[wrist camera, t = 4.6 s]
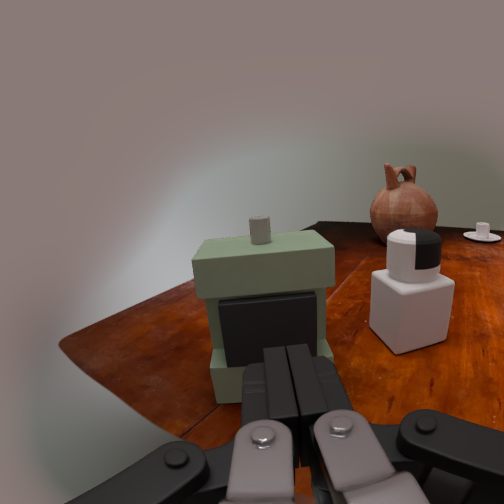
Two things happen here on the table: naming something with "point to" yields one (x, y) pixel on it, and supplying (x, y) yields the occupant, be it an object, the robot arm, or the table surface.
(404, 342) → the medicine bottle
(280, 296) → the paddle
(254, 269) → the green block with peg
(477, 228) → the candle holder
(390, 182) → the jug
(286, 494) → the robot arm
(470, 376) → the table surface
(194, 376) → the table surface
